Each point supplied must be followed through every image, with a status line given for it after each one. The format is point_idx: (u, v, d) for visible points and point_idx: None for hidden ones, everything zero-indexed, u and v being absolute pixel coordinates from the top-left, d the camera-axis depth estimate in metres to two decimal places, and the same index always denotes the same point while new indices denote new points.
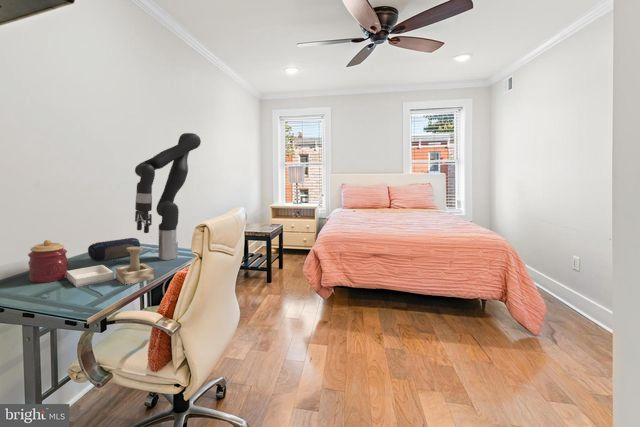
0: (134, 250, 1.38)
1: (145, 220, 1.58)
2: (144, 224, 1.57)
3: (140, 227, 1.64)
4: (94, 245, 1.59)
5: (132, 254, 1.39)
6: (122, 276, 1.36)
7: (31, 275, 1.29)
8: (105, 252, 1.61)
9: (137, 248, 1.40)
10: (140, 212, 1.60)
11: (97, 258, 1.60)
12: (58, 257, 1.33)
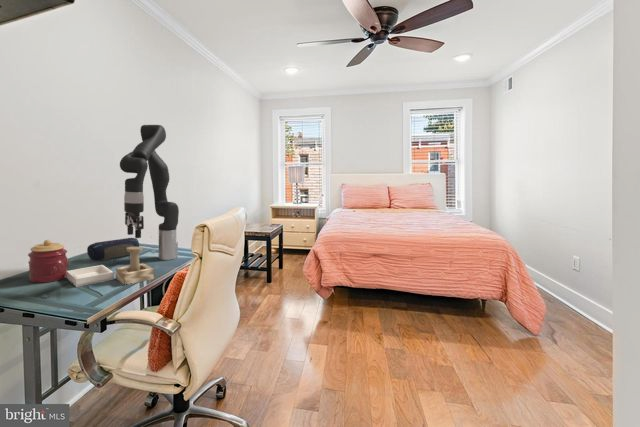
0: (134, 250, 1.38)
1: (136, 223, 1.36)
2: (135, 228, 1.35)
3: (132, 231, 1.42)
4: (93, 245, 1.60)
5: (132, 254, 1.39)
6: (122, 276, 1.36)
7: (31, 275, 1.29)
8: (104, 252, 1.61)
9: (137, 248, 1.40)
10: (130, 214, 1.37)
11: (96, 258, 1.60)
12: (58, 257, 1.33)
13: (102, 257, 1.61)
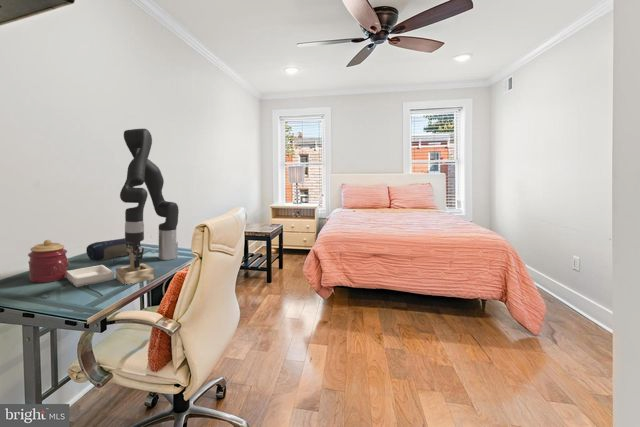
0: None
1: None
2: (134, 258, 1.38)
3: None
4: (93, 245, 1.60)
5: None
6: (122, 276, 1.36)
7: (31, 275, 1.29)
8: (104, 252, 1.61)
9: None
10: (131, 242, 1.39)
11: (96, 258, 1.60)
12: (58, 257, 1.33)
13: (101, 257, 1.61)
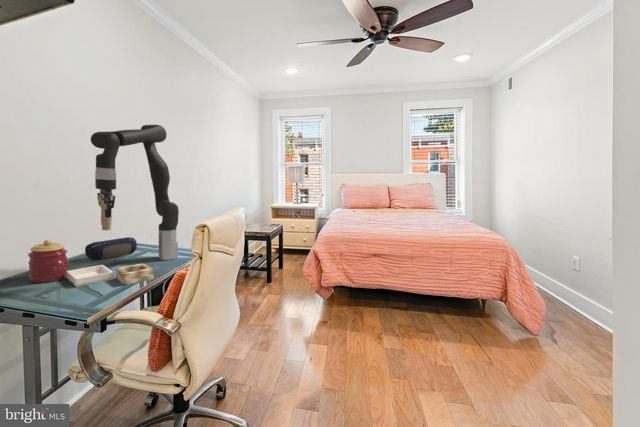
0: (105, 199, 1.32)
1: (107, 202, 1.32)
2: (105, 207, 1.32)
3: None
4: (92, 245, 1.60)
5: None
6: (122, 276, 1.36)
7: (31, 275, 1.29)
8: (103, 251, 1.62)
9: None
10: (102, 191, 1.33)
11: (95, 257, 1.60)
12: (58, 257, 1.33)
13: (100, 257, 1.62)
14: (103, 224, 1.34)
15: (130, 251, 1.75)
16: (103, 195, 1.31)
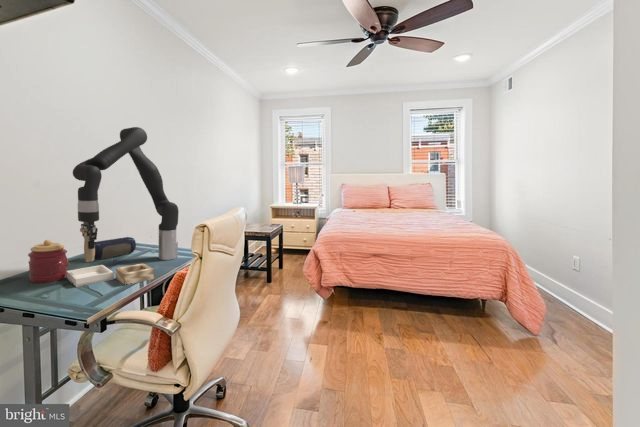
0: None
1: None
2: (88, 239, 1.33)
3: None
4: None
5: None
6: (122, 276, 1.36)
7: (31, 275, 1.29)
8: (102, 251, 1.62)
9: None
10: (85, 223, 1.34)
11: (94, 257, 1.60)
12: (58, 257, 1.33)
13: (100, 256, 1.62)
14: (86, 255, 1.35)
15: (129, 251, 1.75)
16: (86, 227, 1.32)
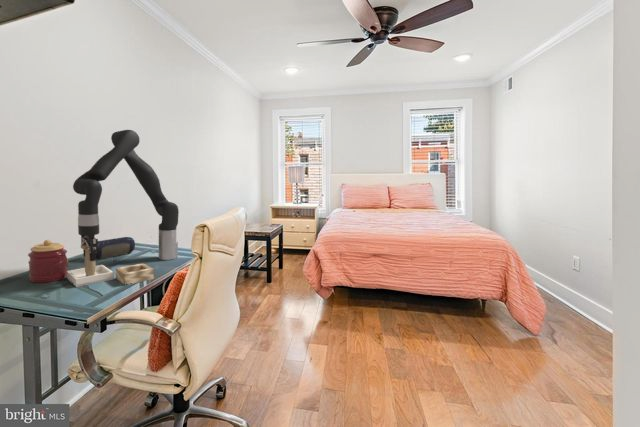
0: None
1: (91, 246, 1.33)
2: (89, 251, 1.32)
3: None
4: None
5: (86, 251, 1.35)
6: (122, 276, 1.36)
7: (31, 275, 1.29)
8: (102, 251, 1.62)
9: None
10: (85, 236, 1.35)
11: None
12: (58, 257, 1.33)
13: (99, 256, 1.62)
14: (87, 272, 1.36)
15: (128, 251, 1.76)
16: (86, 240, 1.33)
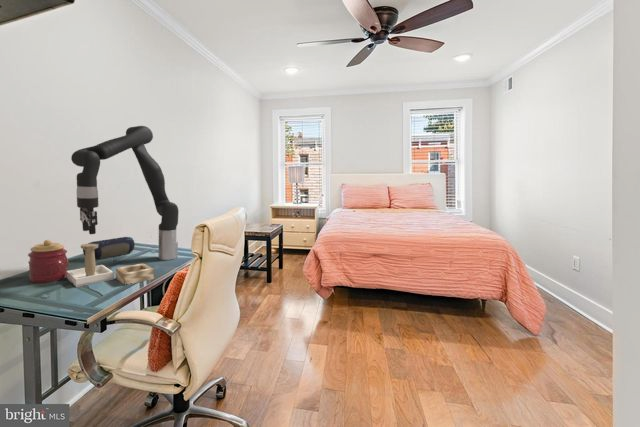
0: (88, 247, 1.34)
1: (90, 219, 1.31)
2: (88, 224, 1.30)
3: (87, 227, 1.37)
4: None
5: (86, 251, 1.35)
6: (122, 276, 1.36)
7: (31, 275, 1.29)
8: (101, 251, 1.62)
9: (92, 245, 1.35)
10: (84, 209, 1.33)
11: None
12: (58, 257, 1.33)
13: (99, 256, 1.62)
14: (87, 272, 1.36)
15: (128, 250, 1.76)
16: (85, 213, 1.31)
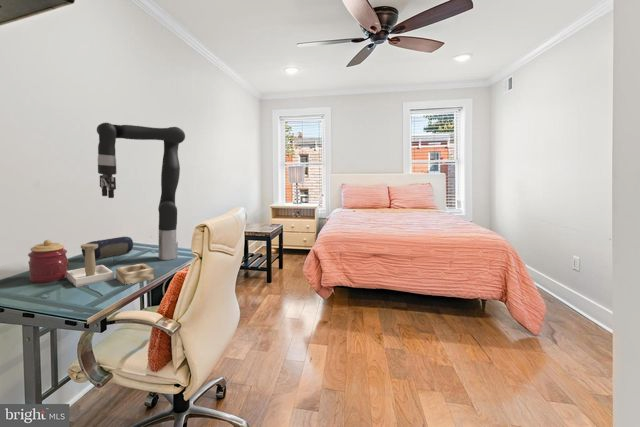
0: (88, 247, 1.34)
1: (109, 184, 1.47)
2: (108, 188, 1.46)
3: (106, 193, 1.53)
4: None
5: (86, 251, 1.34)
6: (122, 276, 1.36)
7: (31, 275, 1.29)
8: (100, 251, 1.62)
9: (92, 245, 1.35)
10: (104, 176, 1.49)
11: None
12: (58, 257, 1.33)
13: (98, 256, 1.62)
14: (87, 272, 1.36)
15: (127, 250, 1.76)
16: (105, 179, 1.47)
